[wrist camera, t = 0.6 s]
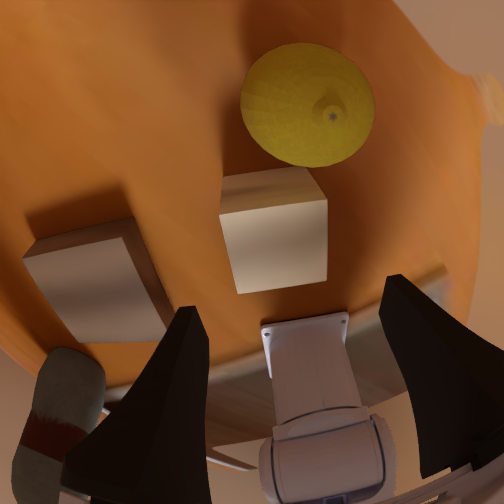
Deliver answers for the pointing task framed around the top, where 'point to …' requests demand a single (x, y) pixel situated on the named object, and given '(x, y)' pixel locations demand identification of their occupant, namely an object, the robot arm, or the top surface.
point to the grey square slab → (102, 283)
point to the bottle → (56, 424)
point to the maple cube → (274, 228)
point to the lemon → (307, 104)
